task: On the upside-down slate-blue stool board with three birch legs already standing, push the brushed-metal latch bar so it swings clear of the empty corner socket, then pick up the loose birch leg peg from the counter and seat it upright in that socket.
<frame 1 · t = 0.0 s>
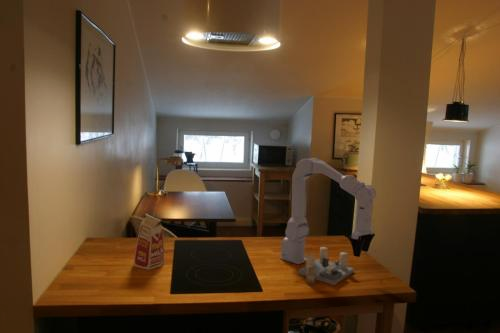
hand: (360, 253, 138), 10 cm above the kitchen island, fingers open, 7 cm apart
latch bar: (333, 268, 138), point 4 cm above the kitchen island, hinge at 0.0°
leg peg: (310, 282, 135), on the kitchen island
board: (326, 272, 144), on the kitchen island
milk carton: (150, 265, 145), on the kitchen island
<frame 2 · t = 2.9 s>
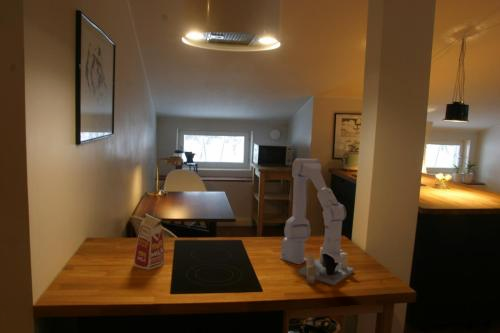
hand: (329, 274, 133), 4 cm above the kitchen island, fingers closed, pressing on latch bar
latch bar: (333, 268, 138), point 4 cm above the kitchen island, hinge at 0.0°, touching gripper
everything else where it was.
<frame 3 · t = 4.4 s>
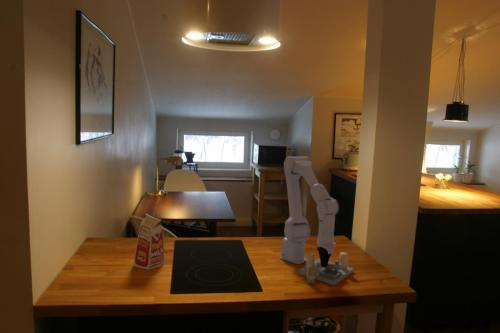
hand: (323, 266, 140), 4 cm above the kitchen island, fingers closed, pressing on latch bar
latch bar: (328, 265, 141), point 4 cm above the kitchen island, hinge at 60.5°, touching gripper
everything else where it was.
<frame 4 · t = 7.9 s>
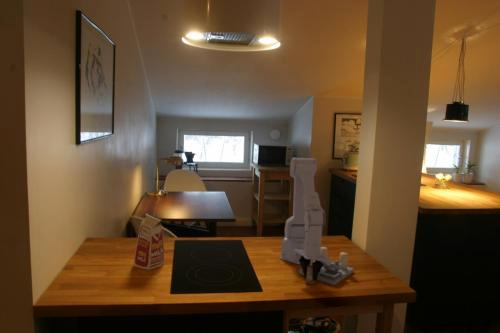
hand: (310, 278, 135), 1 cm above the kitchen island, fingers closed on leg peg, 3 cm apart
latch bar: (328, 264, 142), point 4 cm above the kitchen island, hinge at 76.3°
leg peg: (310, 282, 135), on the kitchen island, touching gripper
everything else where it was.
when the fingers open (4 cm above the kitchen island, at t = 10.6 s): leg peg stays where it is, resting on board.
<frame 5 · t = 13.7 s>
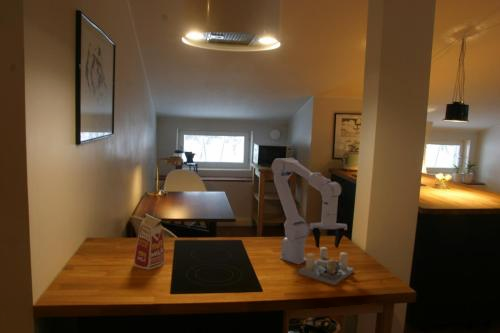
hand: (326, 247, 145), 10 cm above the kitchen island, fingers open, 7 cm apart
leg peg: (330, 276, 137), point 2 cm above the kitchen island, touching board
everything else where it was.
at the end: latch bar at +76° (first picture: +0°); leg peg 0.1 cm from the target spot on the board, point 1.5 cm above the board's base; leg peg tilted 0° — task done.
